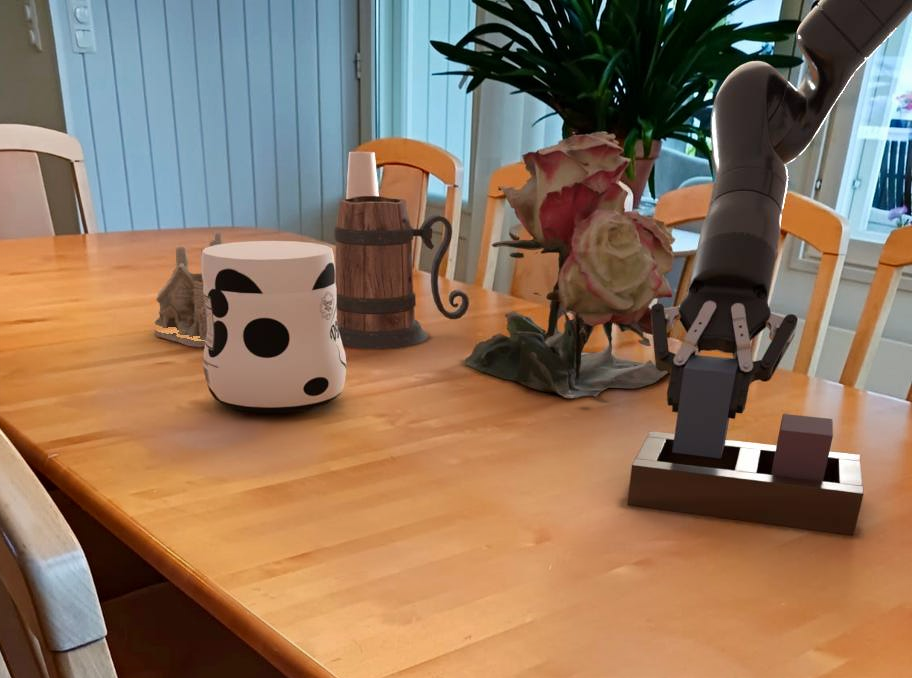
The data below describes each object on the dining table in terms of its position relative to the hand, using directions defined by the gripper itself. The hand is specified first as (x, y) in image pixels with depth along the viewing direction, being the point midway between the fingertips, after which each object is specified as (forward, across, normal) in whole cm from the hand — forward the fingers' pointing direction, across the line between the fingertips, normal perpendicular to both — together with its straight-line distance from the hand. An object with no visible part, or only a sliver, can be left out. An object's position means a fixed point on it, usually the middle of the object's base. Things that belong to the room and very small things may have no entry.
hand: (704, 410), depth 90 cm
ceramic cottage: (-24, -81, +38) cm, 92 cm away
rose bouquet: (-25, -20, +38) cm, 50 cm away
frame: (+5, +5, +8) cm, 10 cm away
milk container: (-4, -52, +17) cm, 55 cm away
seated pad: (+5, +9, +8) cm, 13 cm away
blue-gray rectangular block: (+2, 0, +4) cm, 4 cm away
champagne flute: (-58, -73, +71) cm, 118 cm away
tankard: (-33, -53, +46) cm, 77 cm away
